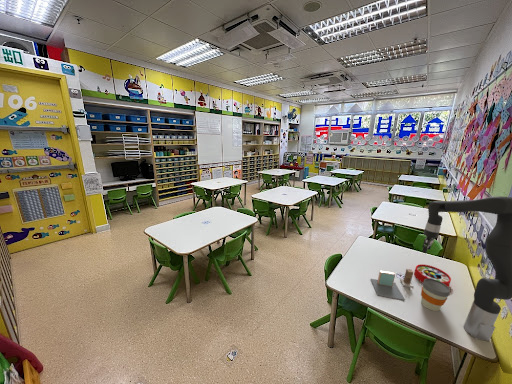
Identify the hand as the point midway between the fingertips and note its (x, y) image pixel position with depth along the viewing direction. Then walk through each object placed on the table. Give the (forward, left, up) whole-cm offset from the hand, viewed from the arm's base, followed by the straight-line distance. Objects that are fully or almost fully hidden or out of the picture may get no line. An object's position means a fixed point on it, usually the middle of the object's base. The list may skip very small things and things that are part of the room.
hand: (426, 250), depth 142 cm
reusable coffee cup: (-23, +3, -25) cm, 35 cm away
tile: (-11, +25, -20) cm, 34 cm away
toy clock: (+5, -11, -26) cm, 28 cm away
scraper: (-5, +9, -25) cm, 27 cm away
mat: (-15, +25, -25) cm, 39 cm away
